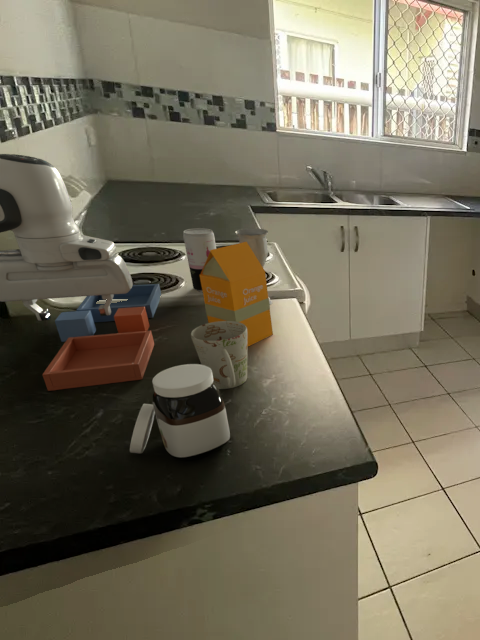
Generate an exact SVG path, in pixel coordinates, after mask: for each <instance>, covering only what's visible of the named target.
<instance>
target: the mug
mask: <svg viewBox="0 0 480 640" xmlns="http://www.w3.org/2000/svg"><path fill="white" fill-rule="evenodd" d="M190 338H191V341H192V343H193V345H194V346H193V347H194V349H195V351H196V355H197V357H198V360H199V362H200V365H205V366H207V367H209V368H210V369H211V370H212V374H213V382H214V383H215V384H216V386H217V387H218V389H219V390H227V389H233V388H237V387H239V386H242V385H243V384H244V383H245V382H246V381H247V380H248V347H247V327H246V326H245V325H244V324H242V323H240V322H235V321H218V322H211V323H208V322H207V323H204V324H201V325H199V326H196V327H195V328H193V329H192V330H191V333H190Z"/></svg>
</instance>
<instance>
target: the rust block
mask: <svg viewBox="0 0 480 640" xmlns="http://www.w3.org/2000/svg"><path fill="white" fill-rule="evenodd" d="M114 319H115V321H114V323H115V326H116V330H117V333H127V332H139V331H149V328H150V322H149V318H148V317H147V313H146V309H145V307H132V308H118V310H117V312H116V314H115V315H114Z"/></svg>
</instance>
